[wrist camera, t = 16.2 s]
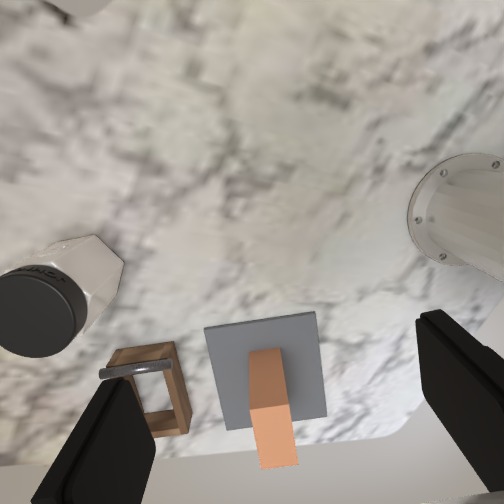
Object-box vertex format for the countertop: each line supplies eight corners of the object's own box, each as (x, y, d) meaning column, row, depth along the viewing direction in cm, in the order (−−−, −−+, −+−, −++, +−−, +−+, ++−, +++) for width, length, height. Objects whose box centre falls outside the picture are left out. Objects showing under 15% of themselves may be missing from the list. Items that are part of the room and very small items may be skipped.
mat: (314, 311, 43) (315, 313, 43) (326, 413, 48) (327, 416, 48) (204, 327, 44) (203, 330, 43) (226, 427, 49) (226, 430, 48)
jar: (113, 228, 40) (60, 264, 28) (134, 292, 42) (92, 349, 31) (39, 243, 40) (-44, 284, 29) (64, 305, 42) (-3, 366, 31)
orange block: (279, 347, 44) (288, 404, 35) (287, 398, 46) (298, 464, 37) (248, 351, 44) (249, 409, 35) (258, 402, 47) (261, 469, 37)
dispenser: (176, 340, 44) (168, 362, 40) (195, 412, 48) (190, 440, 43) (112, 349, 44) (97, 372, 40) (136, 420, 48) (124, 449, 44)
